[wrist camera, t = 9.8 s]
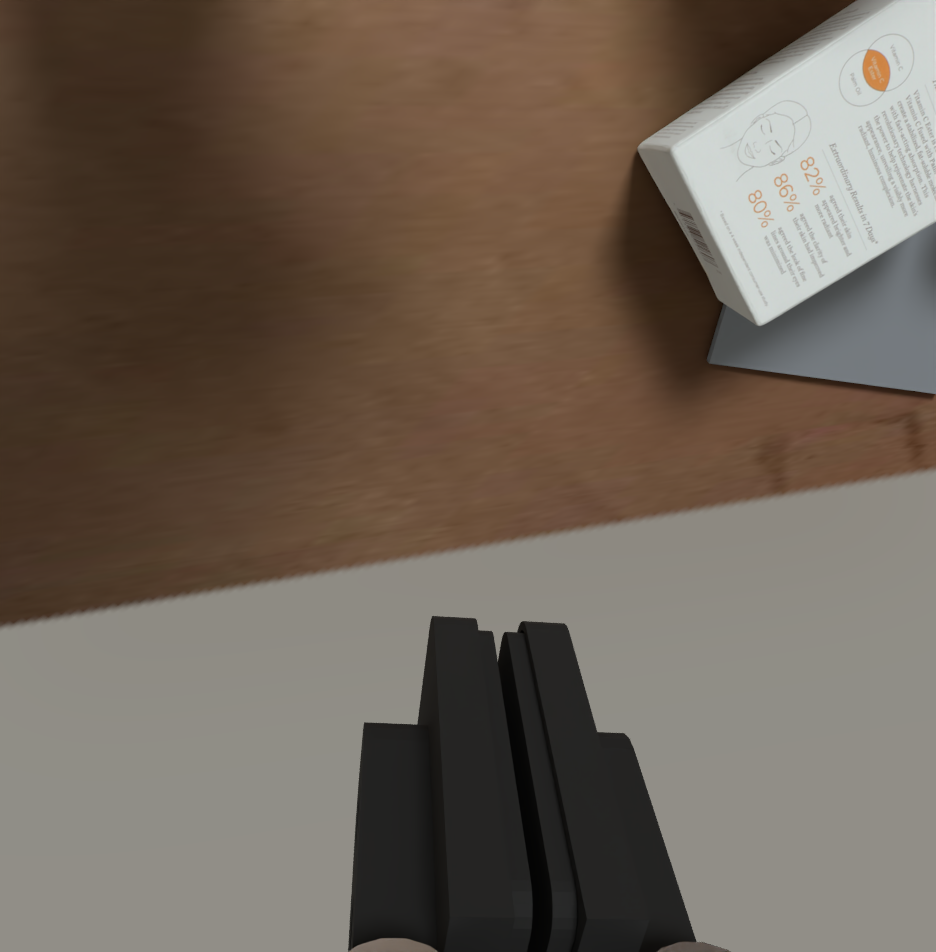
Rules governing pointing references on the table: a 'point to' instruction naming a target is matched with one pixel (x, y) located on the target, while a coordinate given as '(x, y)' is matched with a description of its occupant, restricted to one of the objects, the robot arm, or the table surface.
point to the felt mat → (850, 326)
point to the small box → (808, 158)
